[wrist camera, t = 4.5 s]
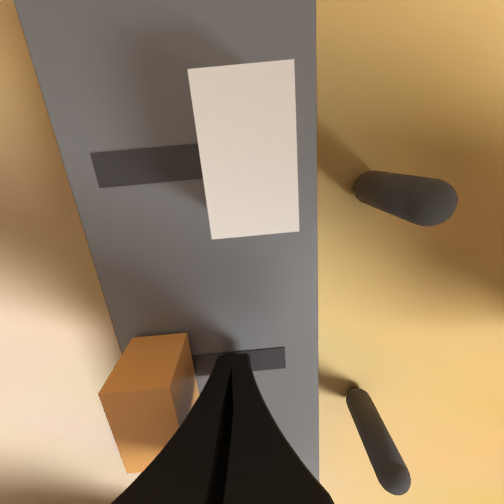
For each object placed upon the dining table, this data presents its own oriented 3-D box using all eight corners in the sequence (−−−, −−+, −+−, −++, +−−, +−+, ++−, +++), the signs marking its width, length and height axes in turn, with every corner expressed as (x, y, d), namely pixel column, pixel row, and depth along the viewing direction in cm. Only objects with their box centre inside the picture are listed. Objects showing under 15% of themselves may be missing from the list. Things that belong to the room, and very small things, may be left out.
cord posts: (381, 168, 14) (474, 178, 8) (365, 399, 19) (415, 501, 14) (349, 171, 14) (422, 183, 8) (342, 401, 19) (383, 504, 14)
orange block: (186, 332, 12) (169, 387, 9) (200, 401, 13) (189, 467, 11) (132, 337, 12) (98, 394, 9) (151, 405, 13) (127, 473, 11)
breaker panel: (292, 28, 12) (315, -31, 8) (306, 464, 21) (319, 532, 18) (86, 48, 12) (11, -2, 8) (191, 475, 21) (179, 544, 18)
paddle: (278, 88, 9) (294, 59, 6) (283, 210, 10) (299, 231, 7) (205, 95, 9) (187, 68, 6) (220, 215, 10) (211, 239, 7)
